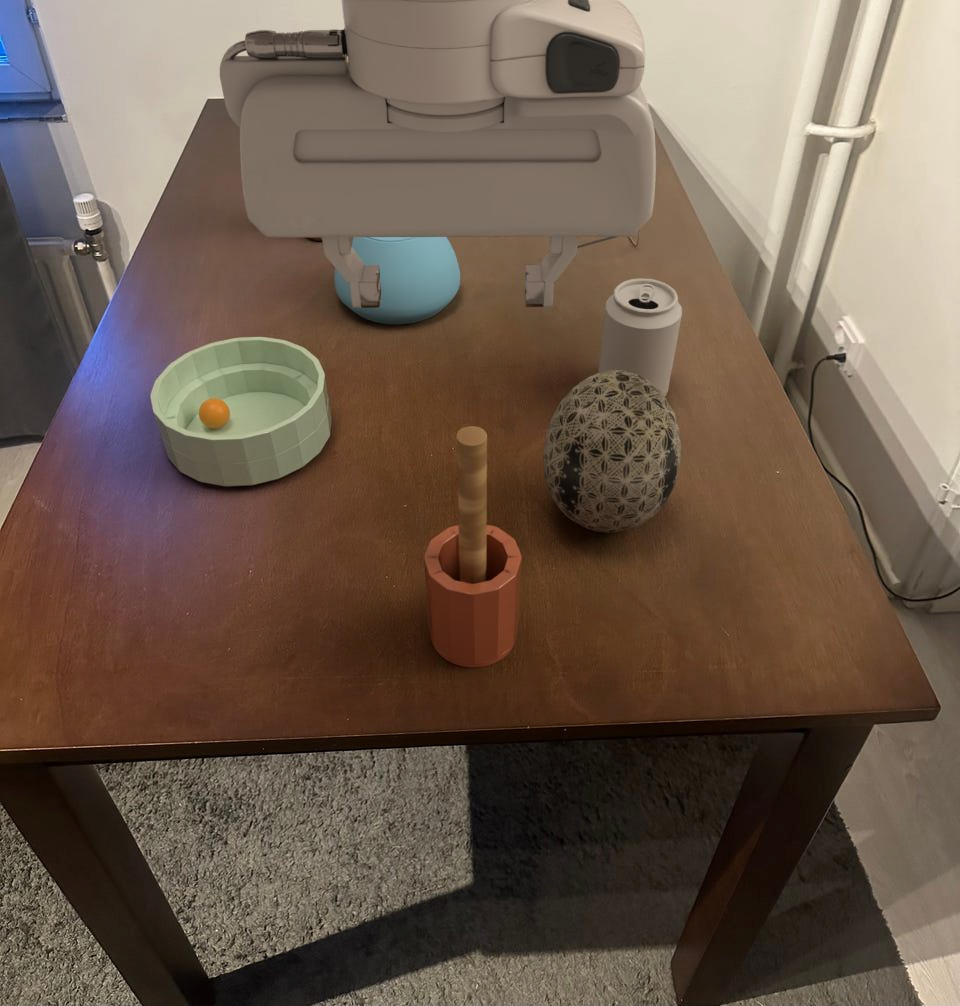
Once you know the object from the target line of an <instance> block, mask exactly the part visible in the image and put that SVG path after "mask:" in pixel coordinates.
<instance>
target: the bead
mask: <svg viewBox="0 0 960 1006" xmlns="http://www.w3.org/2000/svg"><path fill="white" fill-rule="evenodd" d="M199 418H200V420H201V422H202V423H203V424H204V425H205V426H207V427H209V428H213V429H217V428H221V427H223V426H224V425H225V424H226V423H227V422H228V420H229V418H230V410H229V407H228V406H227V404H226V403H225V402H224V401H222V400H220V399H216V398H211V399H208V400H206V401H204V402H203V403H202V404H201V406H200V408H199Z"/></svg>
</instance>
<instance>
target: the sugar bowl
mask: <svg viewBox="0 0 960 1006" xmlns="http://www.w3.org/2000/svg"><path fill="white" fill-rule="evenodd" d="M352 247H353V249H354V250H355V252H356V253H357V255H358V256H359V258H360V259H361V260H362V262H363V263H364V265H379V270H380V280H379V282H380V283H381V300H380V307H378V308H353V306H352V301H351V293H350V284H349V282H347V281H346V280H345V279H344V278H343V276H342V275H341V274H340V273H339V272H338V270H337V269H336V268H335V267H334V276H333V277H334V290H335V292H336V293H335V294H336V295H337V296H338V298H339V300H340V301H341V302H342V303H343V304H344V305H345V306H346V307H347V308H348V309H350V310H351V311H352V312H353V313H355V314H356V315H358V316H359V317H361V318H363V319H365V320H368V321H371V322H374V323H379V324H385V325H405V324H406V325H408V324H413V323H418V322H422V321H425V320H427V319H430V318H432V317H434V316H435V315H438V314H439V313H440V312H442V311H443V309H445V308H446V307H447V305H449V304H450V303H451V302H452V300H453V299H454V298H455V296H456V295H457V293H458V291H459V289H460V286H461V271H460V266H459V262H458V259H457V256H456V252H455V250H454V248H453V246H452V243H451V242H450V241H449V239H448V237H354V238H353V243H352Z"/></svg>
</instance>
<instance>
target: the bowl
mask: <svg viewBox="0 0 960 1006" xmlns="http://www.w3.org/2000/svg"><path fill="white" fill-rule="evenodd" d="M154 380H155V381H154V384H153V386H152V389H151V391H150V392H151V393H150V395H149V397H150V403H151V409H152V413H153V416H154V419H155V421H156V424H157V427H158V431H159V434H160V437H161V440H162V443H163V446H164V449H165V452H166V455H167V458H168V459H169V461H170V462H171V463H172V464H173V465H174V466H175V468H176V469H177V471H179V472H180V473H182V474H184V475H186V476H188V477H189V478H192V479H193V480H195V481H197V482H200V483H206V484H210V485H215V486H220V487H240V486H241V487H243V486H255V485H258V484H262V483H267V482H271V481H275V480H279V479H281V478H283V477H285V476H288V475H290V474H291V473H293V472H295V471H297V470H299V469H302V468H303V467H305V466H306V465H307V464H308V463H310V462H311V461H312V460H313V459H314V458H316V457H317V456H318V455H319V454H320V453H321V452H322V450H323V449H324V447H325V445H326V443H327V441H328V440H329V438H330V437H331V431H332V430H331V428H332V419H333V418H332V412H331V407H330V400H329V392H328V387H327V379H326V374H325V371H324V369H323V366H322V364H321V362H320V360H319V359H318V358H317V357H316V356H315V355H314V354H313V353H311V352H310V351H309V350H308V349H306V348H305V347H304V346H301V345H298V344H296V343H293V342H292V341H289V340H285V339H279V338H273V337H268V336H267V337H266V336H245V337H244V336H243V337H233V338H228V339H223V340H218V341H213V342H210V343H208V344H205V345H203V346H200V347H198V348H195V349H192V350H189V351H188V352H186V353H184V354H183V355H182V356H180V357H178V358H177V359H175V360H174V361H172V362H170V363H169V364H168V365H167V366H166V367H165V369H163V371H162V372H161V373H160V374H159V375H158V377H157V378H156V379H154ZM211 398H216V399H220V400H222V401H224V402H225V403H226V404H227V406H228V407H229V410H230V418H229V420H228V422H227V423H226V424H225V425H224V426H223V427H221V428H217V429H213V428H209V427H207V426H205V425H204V424H203V423H202V422H201V420H200V418H199V408H200V406H201V404H202V403H203V402H204V401H206V400H208V399H211Z"/></svg>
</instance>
